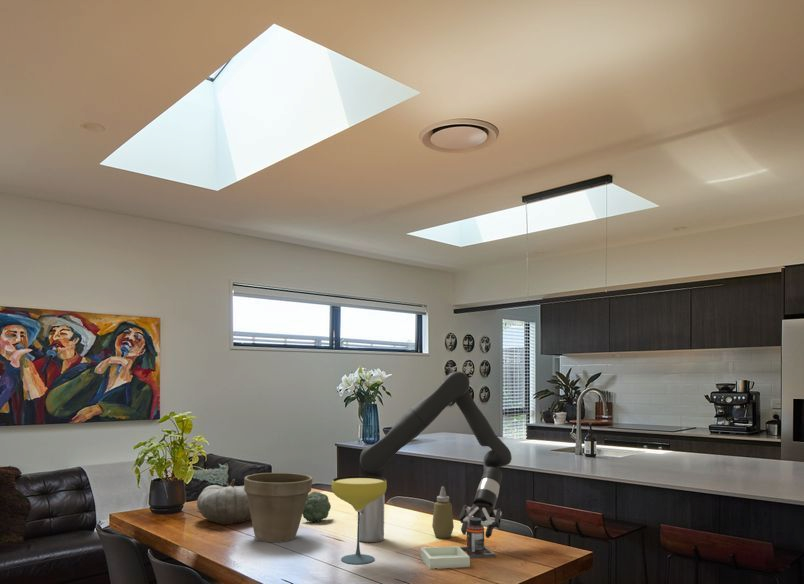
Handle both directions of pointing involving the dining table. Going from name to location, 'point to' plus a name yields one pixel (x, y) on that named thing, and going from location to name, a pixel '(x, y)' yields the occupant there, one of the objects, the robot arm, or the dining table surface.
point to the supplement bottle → (475, 536)
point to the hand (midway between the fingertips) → (475, 535)
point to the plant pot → (276, 504)
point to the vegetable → (316, 507)
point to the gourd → (224, 504)
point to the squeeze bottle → (442, 516)
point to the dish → (444, 557)
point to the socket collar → (488, 554)
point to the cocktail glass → (358, 503)
